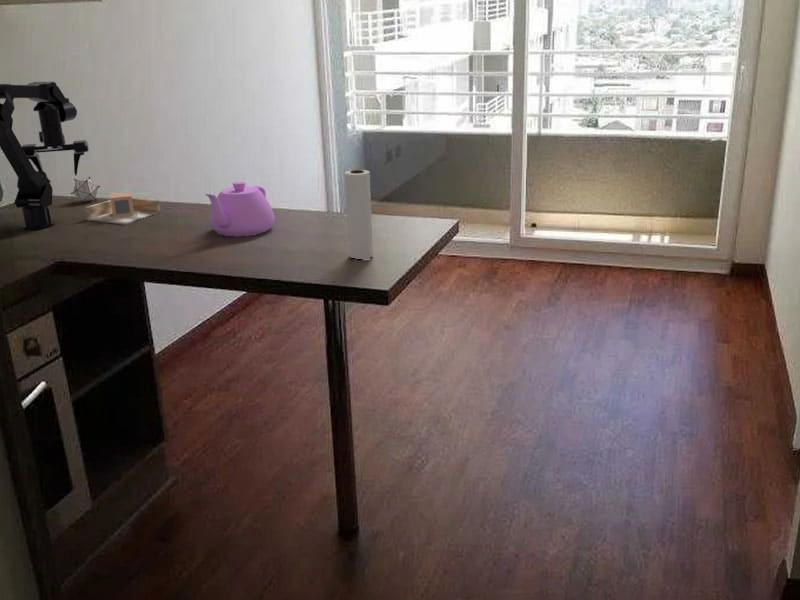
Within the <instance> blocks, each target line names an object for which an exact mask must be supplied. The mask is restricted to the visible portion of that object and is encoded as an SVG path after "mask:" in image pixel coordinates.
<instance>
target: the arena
mask: <svg viewBox="0 0 800 600" xmlns="http://www.w3.org/2000/svg"><path fill="white" fill-rule="evenodd" d="M132 204H133V211H134V216H125V217H115V218H113V213H112V206H111V200H110V199H109V200H106V201H102V202H98V203H95V204H92V205H87V206H85V207H84V213H85V218H86V221H89V222H96V223H97V222H98V223H105V224H115V225H124V226H126V225H128V224H131V223H134V222H138V221H141V220H143V218H144V219H146V217H147V218H150V217H153V216H156V215H159V214H161V207H160V201H159V200H158V199H148V198H139V197H132ZM152 215H153V216H152ZM149 216H150V217H149ZM140 219H141V220H140ZM137 220H138V221H137Z"/></svg>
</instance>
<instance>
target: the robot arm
mask: <svg viewBox="0 0 800 600" xmlns="http://www.w3.org/2000/svg"><path fill="white" fill-rule="evenodd" d="M15 99H29V101H33V102H36V105H35V106H34V107H33V111H34V112H37V113H38V118H39V119H38V120H39V123H40V130H41V131H39V132H38V138H39V142H40V143H41V144H43V145H40V146H37V144H36V143H28V144H27V143H26V144H22V145H21V143H20V142H19V140H18V138H17V136H16V135H15V132H14V131H13V123H14V120H13V116H12V115H13V112H14V111H15V109H16V108H15V103H14V100H15ZM0 100H5V101H4V102H3V103H1V102H0V149H1V151H2V153H3V154H4V156H5V158H6V159H7V161H8V163H9V165H10V166H11V167H12V169H13V171H14V173H15V174H16V177H17V184H16V187H17V189H18V191H17V193H16V197H15V198H14V204H15V207H16V208H21V209H22V214H23V220H24V225H22V226H21V227H22V229H27V230H35V231H38V230H43V229H44V228H45V229H46V228H48V227H52V226H54V225H55V223H54V222H52V218H51V213H50V208H49V207H50V206H52V205H53V186H52V185H51V182H52V181H51V180H50V179H49V178H48V176H47V174H46V173H47V172H45V171H44V169H43V166H42V165H43V164H42V162H41V158H40V154H39V153H50V152H64V151H73V169H74V170H73V172H74V175H75V176H77V174H78V168H79V162H80V159H81V156H84V155H85V153H86V152H89V149H90V148H89V143H88V141H87V140H74V141H73V142H72V143H67V144H66V140H65V135H64V132H63V127H62V123H64V122H68V121H69V122H70V121H73V120H74V119H75V118H76V117H77V114H78V110H77V108H76V106H75V104H73V102H70V98H68V97H65V94H64V93H63V92H62V90H61V89H60V87H59V86H58V85H57V83H56V82H55V81H31V82H29V83H28V84H11V83H0ZM31 162H32V163H33V164H32V163H31ZM33 165H34V166H35V167H36V169H37V170H36V169H35V168H34V166H33Z"/></svg>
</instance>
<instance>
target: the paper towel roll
mask: <svg viewBox="0 0 800 600" xmlns="http://www.w3.org/2000/svg"><path fill="white" fill-rule="evenodd" d="M370 173H371V172H370V171H369V170H367V169H366V170H365V169H352V170H346V171H345V172H344V183H345V184H344V185H345V203H346V205H345V206H346V207H345V208H346V222H347V223H346V224H347V241H348V244H347V245H348V257H349V256H350V257H355V258H360V259H361V258H362V259H371V258H372V257H373V256H374V249H373V247H374V246H373V244H374V243H373V224H372V223H373V222H372V218H373V217H372V198H371V174H370ZM372 255H373V256H372ZM370 256H372V257H371V258H370ZM350 257H349V258H350Z"/></svg>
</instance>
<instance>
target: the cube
mask: <svg viewBox="0 0 800 600" xmlns="http://www.w3.org/2000/svg"><path fill="white" fill-rule="evenodd" d="M109 195H110V196H109V200H111V206H112V213H113V218H115V217H125V216H134V211H133V204H132V198H133V197H132V193H131V191H130V192H119V193H111V194H109Z"/></svg>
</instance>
